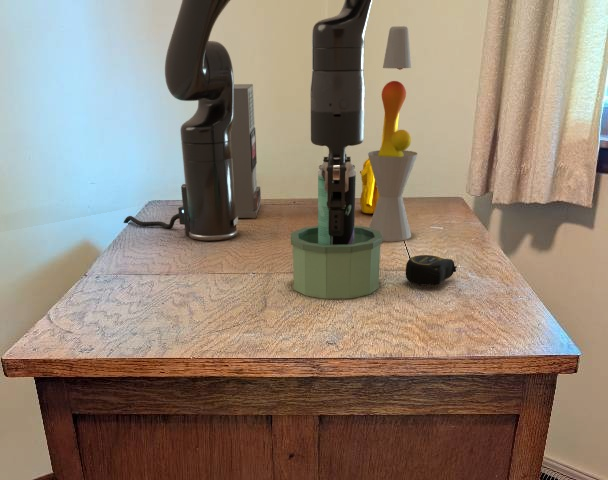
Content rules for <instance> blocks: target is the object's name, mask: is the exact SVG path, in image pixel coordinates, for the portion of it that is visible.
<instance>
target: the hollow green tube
mask: <svg viewBox="0 0 608 480" xmlns="http://www.w3.org/2000/svg"><path fill="white" fill-rule="evenodd" d="M383 242H384V241H383V237H382V235H381V232H380V231H377V230H374V229H371V228H369V226H362V225H354V244H349V245H324V244H318V225H313V226H307V227H302V228H298V229H296V230H294V231H292V232H290V245H291V246H292V268H293V269H292V270H293V271H292V273H293V290H294V291H296V292H297V293H300V294H302V295H303V296H306V297H311V298H318V299H322V300H323V299H324V300H341V299H343V300H344V299H345V300H346V299H355V298H358V297H363V296H368V295H371V294H372V293H374V292H375V291H377V290H378V289H379V287H380V267H381V265H380V262H381V245H382V244H383Z"/></svg>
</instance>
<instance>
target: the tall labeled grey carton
mask: <svg viewBox="0 0 608 480" xmlns="http://www.w3.org/2000/svg"><path fill="white" fill-rule="evenodd" d="M254 101H255V100H254V85H253V83H234V122H233V126H232V130H231V145H232V161H233V178H234V195H235V212H236V218H237V217H238V219H252V220H255V219H256V218H257V216H258V212H259V210H260V206H261V199H262V196H261V186H258V175H257V164H258V161H257V136H256V135H257V134H256V127H255V124H256V123H255V105H254V104H255V102H254Z"/></svg>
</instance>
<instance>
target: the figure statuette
mask: <svg viewBox="0 0 608 480" xmlns="http://www.w3.org/2000/svg"><path fill="white" fill-rule="evenodd" d="M399 116H400V113H399V114H398V117H397V120H396V126H395V132H396V131H398V128H399V127H398V125H399V118H400V117H399ZM385 121H386V119H385V114H384V115H383V126H382V135H381V145H380V147H381V146H382V143H383V139H384V133H385ZM359 173H360V176H361V178H360V179H361V182H362V183H361V189H362V191H361V194H360V198H359V199H360V200H359V204H360V208H361V212H362V213H364V214H374V211H375V208H376V205H377V202H378V199H379V192H378V189H377V185H376V181H375V178H374V174H373V171H372V167H371V163H370V160H369V157H368V158H367V159H366V160H365V161H364V162H363V166H362V170H361V171H359Z"/></svg>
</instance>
